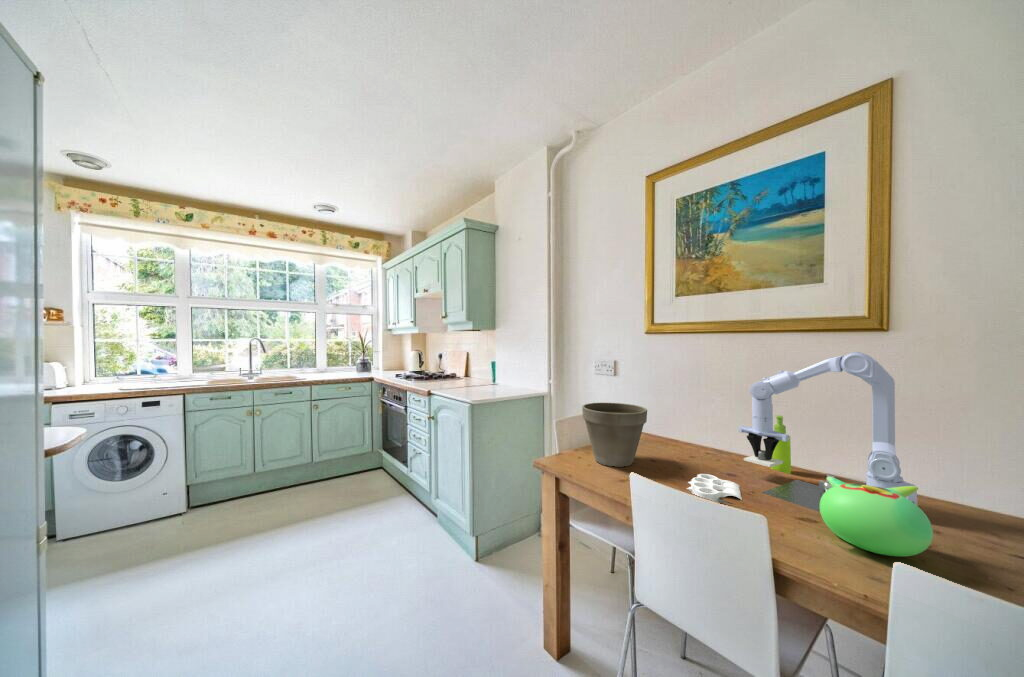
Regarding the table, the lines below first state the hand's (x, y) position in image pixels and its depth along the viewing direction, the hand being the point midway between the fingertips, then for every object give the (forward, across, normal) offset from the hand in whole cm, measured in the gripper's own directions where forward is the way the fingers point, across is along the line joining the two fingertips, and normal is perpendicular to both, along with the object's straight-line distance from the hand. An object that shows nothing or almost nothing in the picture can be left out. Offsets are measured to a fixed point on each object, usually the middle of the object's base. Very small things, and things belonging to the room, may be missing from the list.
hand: (763, 458), depth 121 cm
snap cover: (+1, 0, 0) cm, 1 cm away
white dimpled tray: (+9, -3, -23) cm, 25 cm away
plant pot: (+8, -41, -27) cm, 50 cm away
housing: (+8, +13, -2) cm, 16 cm away
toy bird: (+8, +33, -20) cm, 39 cm away
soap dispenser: (+8, -3, +17) cm, 19 cm away
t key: (+7, +15, +8) cm, 18 cm away
